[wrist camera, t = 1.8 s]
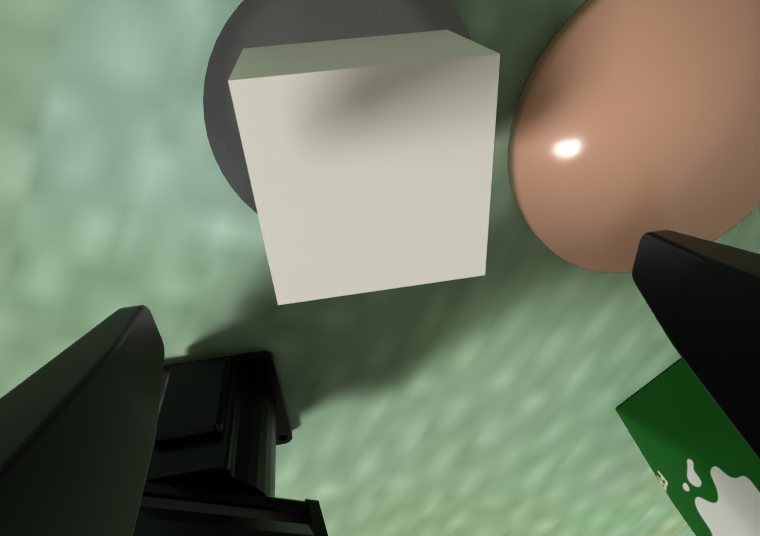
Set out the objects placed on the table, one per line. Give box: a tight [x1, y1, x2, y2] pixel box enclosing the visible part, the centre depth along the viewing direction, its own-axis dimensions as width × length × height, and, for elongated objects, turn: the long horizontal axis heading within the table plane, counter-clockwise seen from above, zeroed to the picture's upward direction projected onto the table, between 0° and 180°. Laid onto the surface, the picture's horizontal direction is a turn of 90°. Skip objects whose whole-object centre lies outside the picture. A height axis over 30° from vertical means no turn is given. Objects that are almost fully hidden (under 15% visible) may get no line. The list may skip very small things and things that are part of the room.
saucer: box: [508, 0, 760, 273], centre depth 20 cm, size 13×13×1 cm
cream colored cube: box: [228, 30, 500, 305], centre depth 14 cm, size 6×6×4 cm
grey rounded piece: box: [203, 0, 471, 214], centre depth 16 cm, size 10×10×6 cm
